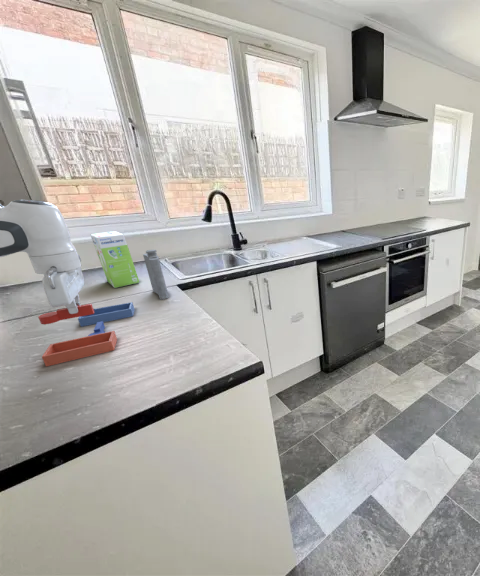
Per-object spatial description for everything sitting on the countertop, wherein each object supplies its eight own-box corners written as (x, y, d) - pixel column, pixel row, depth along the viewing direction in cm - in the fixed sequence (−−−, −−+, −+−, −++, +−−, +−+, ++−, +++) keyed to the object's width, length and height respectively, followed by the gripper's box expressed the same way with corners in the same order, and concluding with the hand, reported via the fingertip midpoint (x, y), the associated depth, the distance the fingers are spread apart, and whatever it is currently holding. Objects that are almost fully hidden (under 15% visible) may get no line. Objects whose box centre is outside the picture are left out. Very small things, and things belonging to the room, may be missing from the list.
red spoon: (95, 310, 90) (92, 302, 89) (93, 315, 87) (89, 306, 86) (43, 320, 84) (39, 311, 83) (39, 325, 81) (34, 316, 80)
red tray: (46, 368, 83) (41, 356, 81) (54, 354, 89) (50, 344, 88) (114, 351, 90) (111, 341, 89) (117, 340, 96) (114, 330, 95)
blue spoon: (94, 330, 103) (91, 323, 102) (110, 327, 105) (107, 320, 104) (89, 343, 95) (85, 335, 94) (105, 340, 97) (103, 332, 96)
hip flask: (152, 292, 139) (140, 248, 132) (163, 289, 141) (152, 246, 135) (160, 301, 128) (148, 254, 121) (172, 298, 131) (160, 252, 124)
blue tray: (81, 328, 105) (77, 318, 104) (85, 319, 111) (82, 310, 110) (133, 317, 113) (130, 308, 111) (134, 310, 119) (132, 302, 118)
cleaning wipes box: (105, 281, 154) (89, 233, 146) (131, 276, 162) (117, 230, 154) (113, 289, 143) (96, 237, 135) (140, 283, 151) (125, 234, 143)
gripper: (64, 269, 75) (83, 321, 80) (80, 254, 91) (96, 298, 96) (26, 274, 72) (49, 327, 76) (51, 257, 88) (68, 302, 92)
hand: (75, 311), depth 86 cm, fingers closed on red spoon
